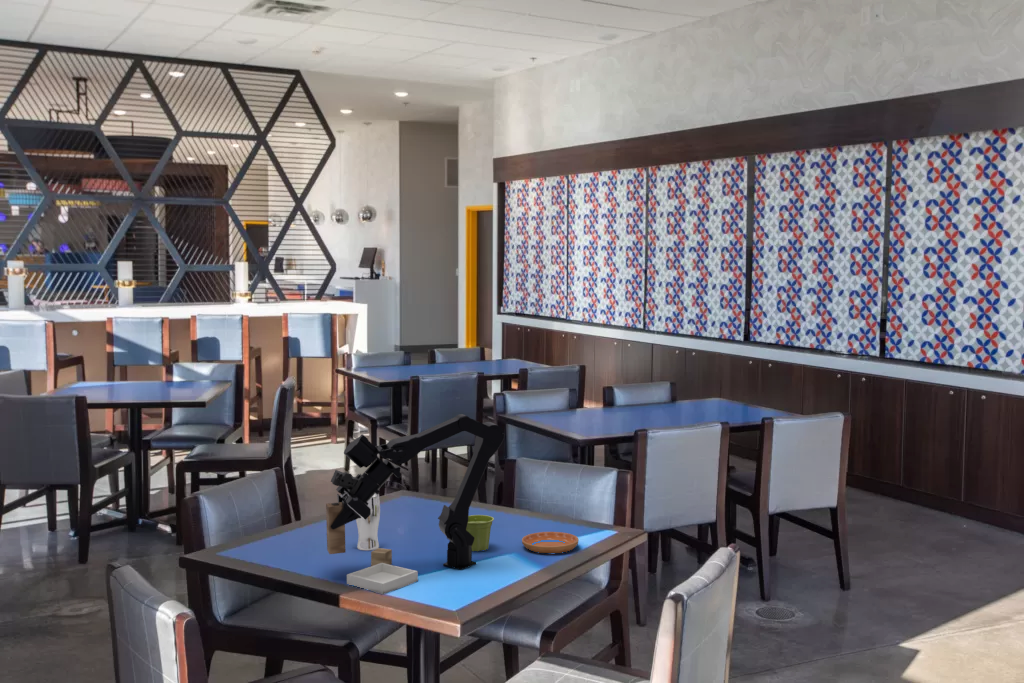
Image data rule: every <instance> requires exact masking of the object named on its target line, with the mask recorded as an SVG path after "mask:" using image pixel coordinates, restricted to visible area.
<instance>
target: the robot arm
mask: <svg viewBox="0 0 1024 683" xmlns="http://www.w3.org/2000/svg"><path fill="white" fill-rule="evenodd" d="M462 432H468V433H470V434H471V435H474V436H475V439H474V448H473V450H474V451H473V453H472V454H473V455H472V456H471V459H470V461H469V464H468V466H467V469H466V471H465V473H464V476H463V479H462V481H461V483H460V485H459V487H458V490H457V492H456V495H455V497H454V500H453V501H452V503H450V505H449V506H448V505H445V504H444V505H443V506H442V509H441V513H440V515H439V516H438V518H437V519H438V520H439V521H438V527H439V530H440V531H441V533H442V534H444V536H445V537H446V539H447V540H449V542H448V543H447V550H446V562H444V563H442V564H443V566H444V567H448V568H453V569H457V570H464V569H466V568H470V567H473V566H475V565H477V561H474V560H473V561H472V559H473V558H472V557H473V555H472V554H473V553H472V552H473V551H472V545H473V542H474V539H475V538H474V537H473V536H472V535H471V534H470V533H469V532H468V531H467V530H466V528H467V524H468V516H470V515H469V513H470V512H469V511H470V507H471V505H472V502H473V499H474V497H475V495H476V492H477V490H478V487H479V485H480V483H481V480H482V478H483V475H484V474H485V471H486V469H487V465H488V463H489V461H490V460H491V458H492V457H493V456H494V454H496V453H497V452H498V451H499V449H500V447H501V446H502V444H503V442H504V440H505V435H506V434H505V431H504V429H503V427H502V426H500V425H498V424H495V423H494V422H491V421H485V422H481V421H479V420H476V419H473V418H471V417H469V416H468V415H465V414H464V413H463V414H462V413H460V414H457V415H455V416H454V417H452V418H450V419H448V420H445V421H443V422H441V423H438V424H436V425H434V426H432V427H430V428H428V429H426V430H423V431H421V432H418V433H415V434H411V435H405V436H399V437H396V438H393V439H391V440H389V441H388V442H387V443H385V444H378V445H374V444H373V443H372V442H371V441H370V440H369V439H368V437H366V435H364V434H360V435H359V437H358V436H357V438H355V439H354V440H353V441H350V443H348V445H347V446H346V448H345V449H344V450H343V454H344V455H345V456H346V457H347V458H348V459H349V460H350V461H351V462H352V463H354V465H356V466H357V467H358V468H360V469H361V468H367V469H365V471H364V472H363V473H358V474H356V476H353V475H352V473H349V472H346V471H345V472H343V471H340V470H337V469H335V470H334V472H333V474H332V477H331V480H330V482H331V484H332V485H334V486H336V487H337V488H336V489H335V490H336V491H337V492H338V493H337V495H336V496H337V503H339V502H342V510H341V511H340V513H339V514H338V516H337V517H336V519H335V520H334V521H333V523H332V525H331V526H330V527H331V528H332V529H336V528H338V527H340V526H342V525H344V524H345V525H347V524H349V523H351V522H354V521H356V519H358V518H361V516H362V517H363V518H364V519H365V520H366V519H367V518H368V516H369V515H370V514H371V509H370V508H369V507H368V506H367V505H368V501H369V500H370V498H371V497H372V496H373V495H374V494H375V493H376V494H379V493H380V489H381V487H382V486H383V485H384V484H385V483H386V482H387V481H388V479H389V478H391V476H392V475H394V476H395V477H396V478H398V479H401V466H399V465H403V464H406V463H407V462H409V461H410V460H412V459H414V458H415V457H417V455H418V454H420V453H421V452H422V451H423V450H425V449H426V448H427V449H428V448H429V447H431V446H433V445H435V444H438V443H440V442H442V441H444V440H447V439H449V438H451V437H454V436H455V435H458V434H460V433H462ZM378 455H380V456H381V457H382V458H383V459H384V460H382V459H381V458H380V457H378ZM389 460H391V461H392V462H393V463H395V464H398V465H394V464H393V463H391V461H389ZM339 493H340V494H339ZM360 515H361V516H360Z"/></svg>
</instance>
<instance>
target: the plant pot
mask: <svg viewBox="0 0 1024 683" xmlns="http://www.w3.org/2000/svg"><path fill="white" fill-rule="evenodd" d="M494 519H495V518H494V517H493V516H490V515H488V514H487V515H486V514H485V515H484V514H472V515H469V516H468V524H467V528H466V530H467V531H468V532H469V533H470V534H471V535H472V536H473V537H474V538H475V539H474V542H473V545H472V552H474V551H477V552H479V551H482V550H485V551H487V550H489V546H490V536H491V529H492V525H493V522H494ZM486 549H487V550H486Z"/></svg>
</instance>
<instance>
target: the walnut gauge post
mask: <svg viewBox="0 0 1024 683" xmlns="http://www.w3.org/2000/svg"><path fill="white" fill-rule="evenodd" d="M325 510H326V511H325V516H326V550H327V552H328V554H329V555H334V554H343V553H345V554H346V524H344V525H342V526H340V527H338V528H336V529H332V528H331V527H330V526H331V525H332V523H333V521H334V520H335V519H336V517H337V516H338V514H339V513H340V511H341V510H342V502H339V503H338V502H329V503H325Z"/></svg>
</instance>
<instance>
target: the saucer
mask: <svg viewBox="0 0 1024 683" xmlns="http://www.w3.org/2000/svg"><path fill="white" fill-rule="evenodd" d="M579 539H580V538H579V537H578V536H576V535H574V534H572V533H569V532H568V533H567V532H562V531H561V532H560V531H540V532H534V533H533V532H532V533H529V534H527V535H524V536H523V537H522V538H521V541H522V545H523V546H524V547H525V548H526V549H527V550H528V549H529V550H531V551H534V552H539V553H562V552H566V553H568V552H567V551H569V552H571V551H572V550H573V549H574V548H576V547H577V546H578V544H579ZM541 540H559V541H563V542H565V543H563V542H540V543H536V544H534V545H532V543H534V542H538V541H541ZM529 550H528V551H529ZM570 550H571V551H570ZM531 551H530V552H531ZM534 552H533V553H534ZM539 553H538V554H539ZM562 554H563V553H562Z"/></svg>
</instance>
